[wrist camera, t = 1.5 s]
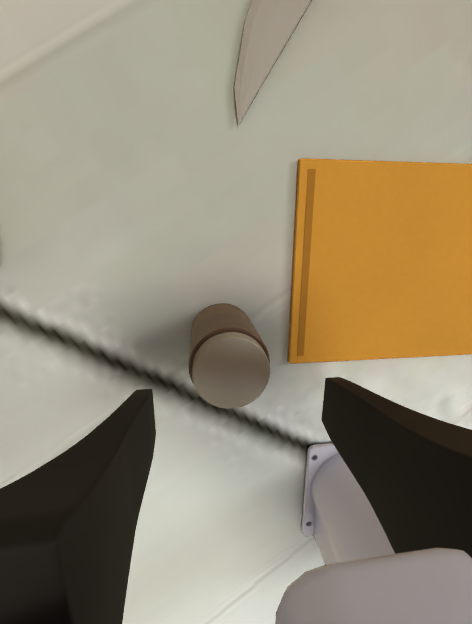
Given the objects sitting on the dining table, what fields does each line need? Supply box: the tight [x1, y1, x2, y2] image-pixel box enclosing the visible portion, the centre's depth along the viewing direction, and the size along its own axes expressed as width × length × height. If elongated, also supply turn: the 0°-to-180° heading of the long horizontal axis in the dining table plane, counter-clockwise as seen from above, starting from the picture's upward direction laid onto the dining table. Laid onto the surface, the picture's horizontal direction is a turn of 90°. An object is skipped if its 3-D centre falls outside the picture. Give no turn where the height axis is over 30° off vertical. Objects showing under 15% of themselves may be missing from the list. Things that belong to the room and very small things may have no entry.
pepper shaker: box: [189, 304, 270, 408], centre depth 18 cm, size 4×4×6 cm
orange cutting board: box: [288, 159, 472, 364], centre depth 22 cm, size 14×20×1 cm
